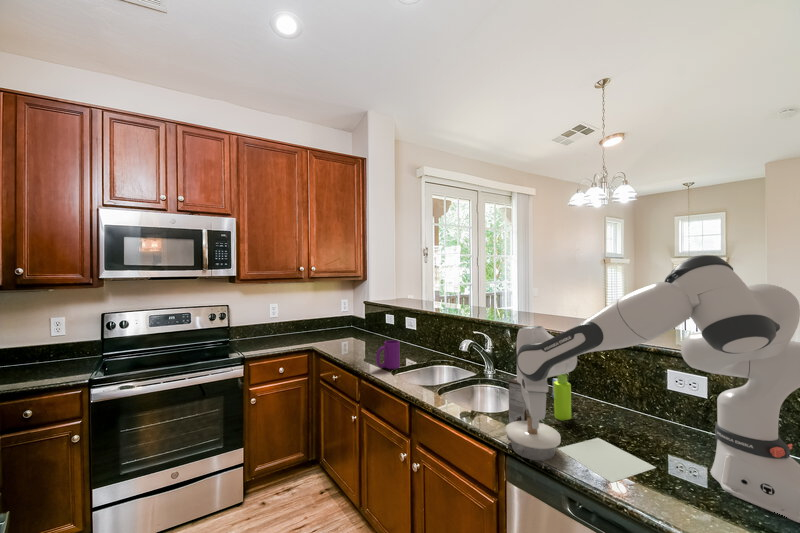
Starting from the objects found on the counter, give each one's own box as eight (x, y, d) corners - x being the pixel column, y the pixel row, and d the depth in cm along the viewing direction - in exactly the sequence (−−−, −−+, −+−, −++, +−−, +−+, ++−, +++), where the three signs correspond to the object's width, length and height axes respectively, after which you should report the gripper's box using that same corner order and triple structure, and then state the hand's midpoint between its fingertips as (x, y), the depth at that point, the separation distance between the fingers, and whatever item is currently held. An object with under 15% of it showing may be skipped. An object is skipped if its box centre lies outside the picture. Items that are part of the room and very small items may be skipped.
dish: (549, 441, 110) (549, 426, 110) (564, 465, 96) (564, 448, 96) (504, 438, 112) (504, 423, 112) (513, 461, 98) (512, 444, 98)
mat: (656, 469, 94) (656, 467, 94) (611, 484, 87) (611, 482, 87) (598, 439, 110) (598, 437, 110) (557, 450, 104) (556, 448, 104)
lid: (571, 438, 102) (571, 422, 102) (540, 455, 93) (540, 437, 93) (526, 419, 115) (525, 405, 115) (495, 432, 106) (495, 416, 106)
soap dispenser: (574, 416, 128) (573, 364, 128) (568, 422, 123) (568, 368, 123) (558, 412, 132) (557, 361, 132) (552, 417, 127) (551, 365, 127)
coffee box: (519, 416, 128) (519, 374, 128) (535, 421, 124) (535, 378, 124) (508, 424, 122) (507, 380, 122) (525, 430, 117) (524, 384, 117)
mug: (403, 367, 194) (402, 341, 194) (381, 372, 184) (381, 345, 184) (393, 364, 201) (393, 339, 201) (372, 369, 191) (372, 343, 191)
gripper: (516, 367, 115) (517, 406, 115) (526, 387, 95) (526, 435, 95) (535, 367, 114) (536, 408, 114) (549, 388, 94) (550, 437, 94)
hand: (532, 421), depth 104 cm, fingers open, 8 cm apart
